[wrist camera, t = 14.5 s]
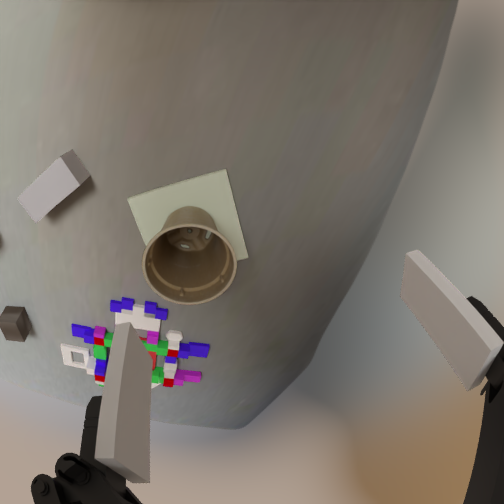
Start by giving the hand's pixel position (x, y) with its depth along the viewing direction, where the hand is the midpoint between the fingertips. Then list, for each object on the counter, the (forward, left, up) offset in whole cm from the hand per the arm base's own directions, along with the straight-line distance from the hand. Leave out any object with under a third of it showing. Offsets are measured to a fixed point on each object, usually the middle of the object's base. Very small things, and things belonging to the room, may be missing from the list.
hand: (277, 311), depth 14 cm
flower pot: (+6, -6, -25) cm, 26 cm away
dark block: (+12, -39, -25) cm, 48 cm away
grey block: (-5, -20, -25) cm, 33 cm away
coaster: (+6, -6, -25) cm, 27 cm away
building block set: (+23, -22, -26) cm, 41 cm away
